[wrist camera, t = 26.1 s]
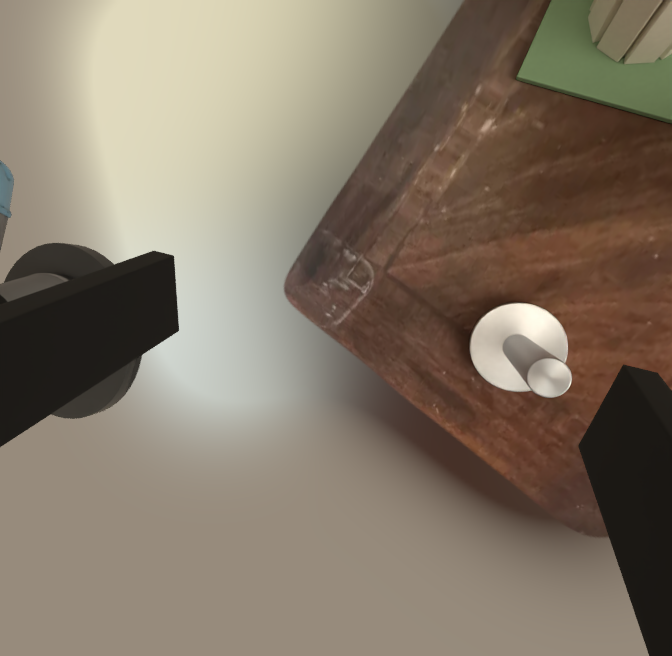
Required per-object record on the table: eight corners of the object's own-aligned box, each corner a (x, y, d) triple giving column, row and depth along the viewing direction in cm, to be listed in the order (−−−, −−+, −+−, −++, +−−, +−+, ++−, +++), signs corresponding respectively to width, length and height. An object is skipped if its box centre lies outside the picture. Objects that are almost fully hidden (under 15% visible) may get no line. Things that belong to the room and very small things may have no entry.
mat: (515, 80, 34) (516, 76, 34) (598, -101, 32) (600, -109, 31) (689, 129, 31) (694, 126, 31) (799, -67, 28) (805, -75, 28)
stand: (454, 364, 38) (454, 405, 25) (492, 288, 36) (513, 287, 23) (537, 403, 36) (584, 469, 23) (581, 324, 35) (659, 346, 21)
